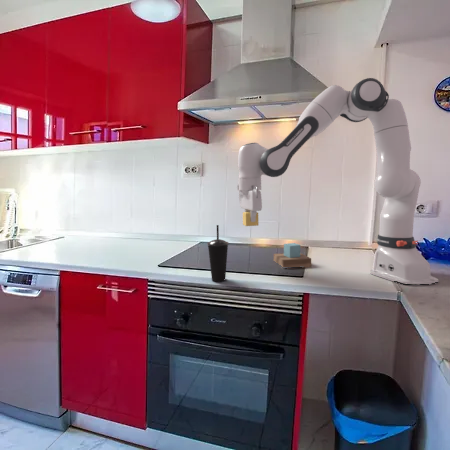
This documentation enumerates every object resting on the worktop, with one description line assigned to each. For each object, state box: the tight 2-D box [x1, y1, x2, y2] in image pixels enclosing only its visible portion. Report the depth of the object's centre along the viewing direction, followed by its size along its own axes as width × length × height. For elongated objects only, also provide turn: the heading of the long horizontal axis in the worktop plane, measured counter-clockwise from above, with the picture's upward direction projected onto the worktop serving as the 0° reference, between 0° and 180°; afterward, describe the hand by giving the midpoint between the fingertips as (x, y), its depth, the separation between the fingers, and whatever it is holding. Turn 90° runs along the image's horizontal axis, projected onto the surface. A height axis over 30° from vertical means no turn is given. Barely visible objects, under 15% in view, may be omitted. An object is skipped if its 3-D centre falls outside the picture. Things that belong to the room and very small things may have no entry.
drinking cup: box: [206, 224, 230, 283], centre depth 114 cm, size 8×8×20 cm
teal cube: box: [283, 242, 301, 258], centre depth 135 cm, size 5×5×5 cm
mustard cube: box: [242, 211, 259, 227], centre depth 126 cm, size 5×5×5 cm
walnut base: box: [273, 252, 312, 268], centre depth 135 cm, size 12×12×4 cm
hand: (250, 220), depth 126 cm, fingers closed on mustard cube, 5 cm apart
